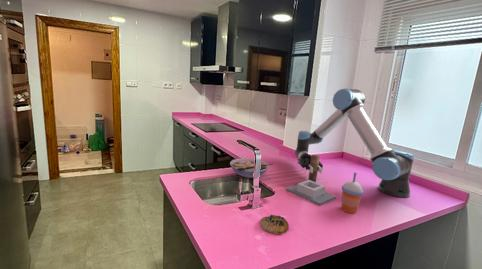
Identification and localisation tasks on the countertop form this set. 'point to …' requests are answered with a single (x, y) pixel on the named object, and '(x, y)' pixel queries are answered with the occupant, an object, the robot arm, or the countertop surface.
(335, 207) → the countertop surface
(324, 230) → the countertop surface
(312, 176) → the peg
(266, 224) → the bread roll
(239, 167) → the ramen bowl
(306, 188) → the socket
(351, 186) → the cup with straw
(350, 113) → the robot arm
